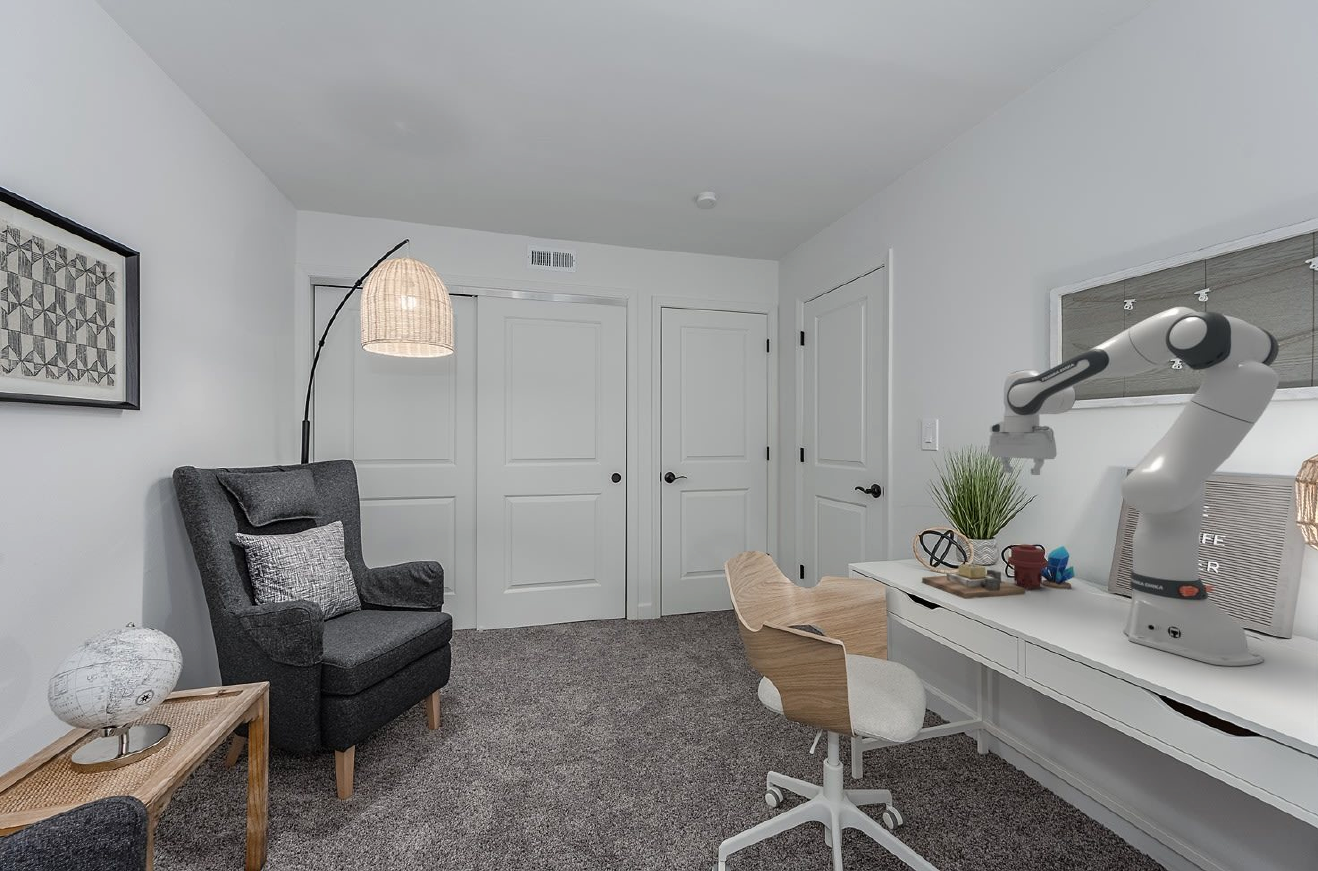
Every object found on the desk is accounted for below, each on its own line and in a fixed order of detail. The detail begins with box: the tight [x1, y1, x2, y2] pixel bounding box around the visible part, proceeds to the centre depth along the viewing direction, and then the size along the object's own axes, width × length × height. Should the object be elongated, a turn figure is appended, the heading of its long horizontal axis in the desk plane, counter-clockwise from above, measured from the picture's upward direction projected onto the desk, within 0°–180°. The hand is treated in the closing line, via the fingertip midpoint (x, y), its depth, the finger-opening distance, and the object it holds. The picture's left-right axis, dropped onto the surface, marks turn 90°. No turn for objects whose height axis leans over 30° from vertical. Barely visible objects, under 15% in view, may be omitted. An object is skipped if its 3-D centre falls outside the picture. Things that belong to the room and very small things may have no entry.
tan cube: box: [957, 563, 987, 579], centre depth 170 cm, size 5×5×5 cm
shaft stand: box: [921, 569, 1026, 599], centre depth 171 cm, size 18×20×4 cm
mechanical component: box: [1007, 543, 1048, 590], centre depth 171 cm, size 12×10×10 cm
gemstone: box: [1041, 545, 1075, 589], centre depth 172 cm, size 7×9×12 cm
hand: (1021, 473), depth 167 cm, fingers open, 8 cm apart
